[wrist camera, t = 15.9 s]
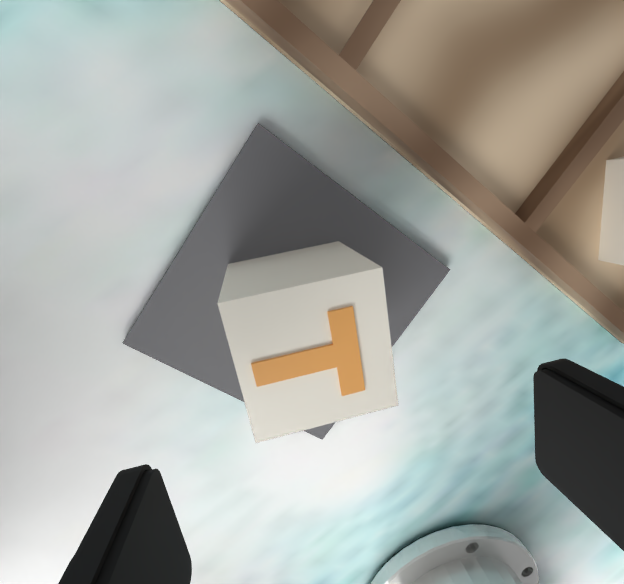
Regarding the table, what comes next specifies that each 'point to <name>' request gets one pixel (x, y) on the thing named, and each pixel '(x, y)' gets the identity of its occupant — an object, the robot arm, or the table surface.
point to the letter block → (308, 338)
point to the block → (613, 214)
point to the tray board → (484, 111)
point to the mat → (263, 242)
